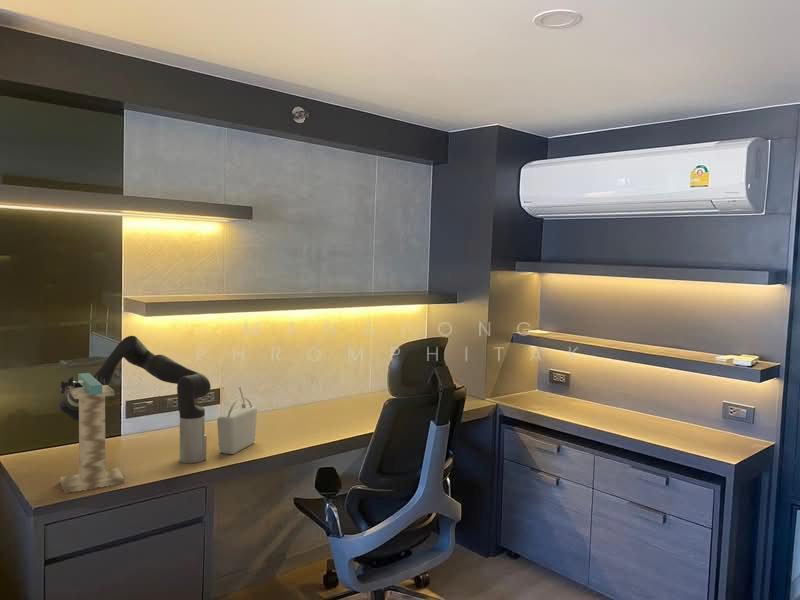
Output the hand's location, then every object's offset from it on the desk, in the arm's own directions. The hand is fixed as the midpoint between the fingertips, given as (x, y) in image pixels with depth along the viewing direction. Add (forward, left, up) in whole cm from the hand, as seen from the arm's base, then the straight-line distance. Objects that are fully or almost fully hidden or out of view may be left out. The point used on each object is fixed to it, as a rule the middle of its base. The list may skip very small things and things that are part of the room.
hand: (85, 378), depth 215 cm
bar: (0, +9, -2) cm, 9 cm away
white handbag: (-56, +1, -34) cm, 66 cm away
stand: (0, +13, -34) cm, 37 cm away
